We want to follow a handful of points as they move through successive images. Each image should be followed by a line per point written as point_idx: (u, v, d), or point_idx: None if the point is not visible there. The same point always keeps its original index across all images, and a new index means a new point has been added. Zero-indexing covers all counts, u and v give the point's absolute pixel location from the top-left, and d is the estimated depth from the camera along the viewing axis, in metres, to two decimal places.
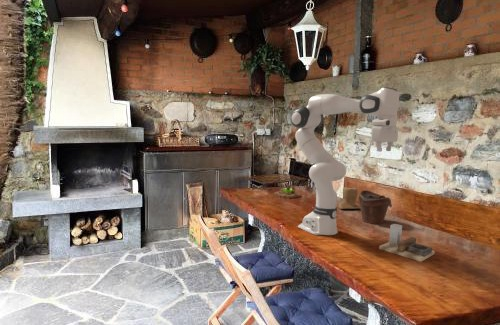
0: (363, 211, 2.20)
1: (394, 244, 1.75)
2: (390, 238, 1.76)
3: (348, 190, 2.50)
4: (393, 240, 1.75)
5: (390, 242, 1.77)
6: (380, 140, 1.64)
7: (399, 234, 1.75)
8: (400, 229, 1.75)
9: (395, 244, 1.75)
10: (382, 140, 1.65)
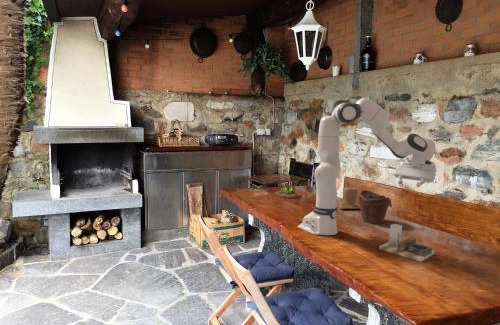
0: (363, 211, 2.20)
1: (394, 244, 1.75)
2: (390, 238, 1.76)
3: (348, 190, 2.50)
4: (393, 240, 1.75)
5: (390, 242, 1.77)
6: None
7: (399, 234, 1.75)
8: (400, 229, 1.75)
9: (395, 244, 1.75)
10: None
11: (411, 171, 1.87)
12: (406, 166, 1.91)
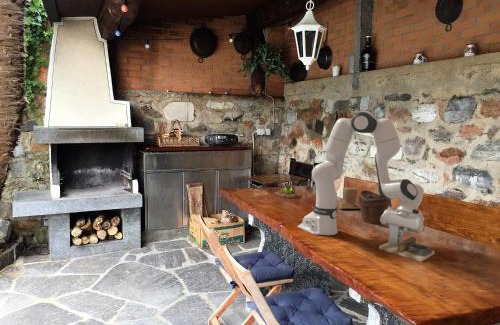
0: (363, 211, 2.20)
1: (394, 244, 1.75)
2: (390, 238, 1.76)
3: (348, 190, 2.50)
4: (393, 240, 1.75)
5: (390, 242, 1.77)
6: None
7: None
8: (400, 229, 1.75)
9: (395, 244, 1.75)
10: None
11: (398, 219, 1.79)
12: (393, 213, 1.83)
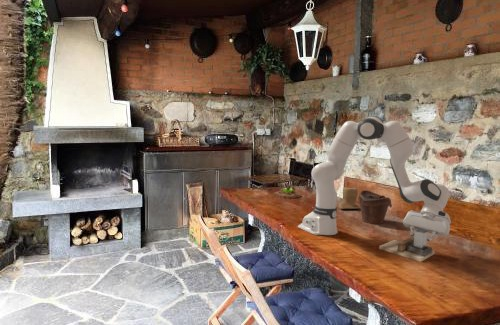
0: (363, 211, 2.20)
1: None
2: (414, 245, 1.68)
3: (348, 190, 2.50)
4: (417, 247, 1.67)
5: None
6: None
7: (424, 241, 1.66)
8: (425, 235, 1.66)
9: None
10: None
11: (423, 222, 1.70)
12: (417, 215, 1.73)
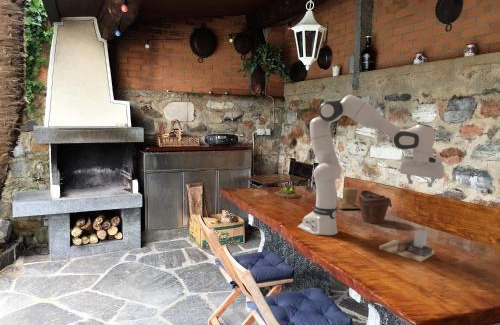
0: (363, 211, 2.20)
1: None
2: (414, 245, 1.68)
3: (348, 190, 2.50)
4: (417, 247, 1.67)
5: None
6: None
7: (424, 241, 1.66)
8: (425, 235, 1.66)
9: None
10: None
11: (417, 170, 1.76)
12: (410, 163, 1.78)
